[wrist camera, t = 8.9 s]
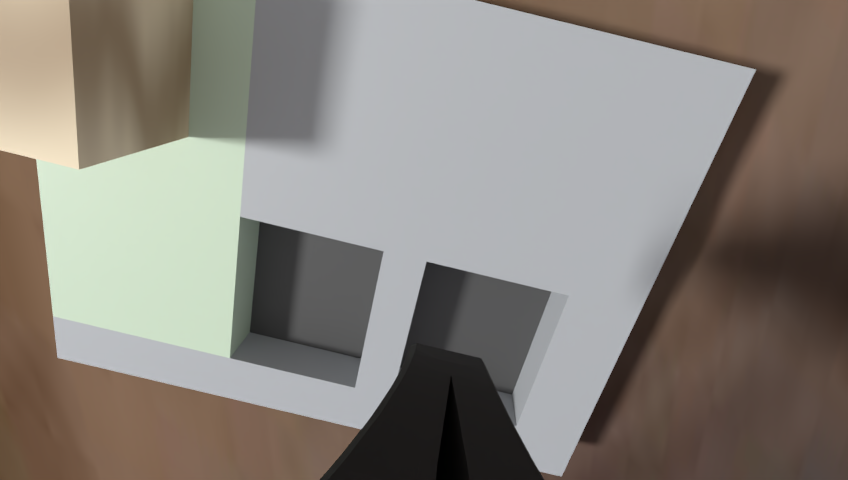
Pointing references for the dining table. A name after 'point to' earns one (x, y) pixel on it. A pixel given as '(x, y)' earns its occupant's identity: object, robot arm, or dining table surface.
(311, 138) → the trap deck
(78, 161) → the maple block
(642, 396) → the dining table surface
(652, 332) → the dining table surface
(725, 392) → the dining table surface
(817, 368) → the dining table surface
